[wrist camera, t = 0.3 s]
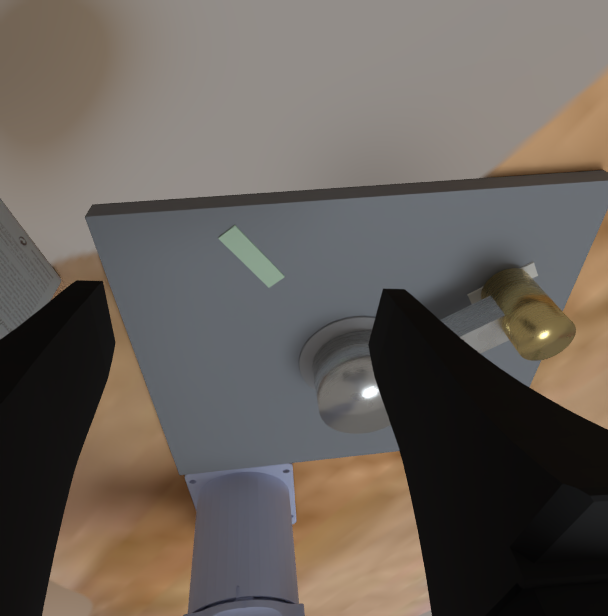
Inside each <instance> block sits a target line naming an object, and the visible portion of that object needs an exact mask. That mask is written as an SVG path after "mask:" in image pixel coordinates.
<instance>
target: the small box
mask: <svg viewBox="0 0 608 616" xmlns="http://www.w3.org/2000/svg"><path fill="white" fill-rule="evenodd" d="M60 283H61V278H60V277H59V275H58V274H57V273H56V271H55V270H54V269H53V267H52V266H51V265H50V264H49V262H48V261H47V260H46V258H45V257H44V256H43V254H42V253H41V252H40V250H39V249H38V248H37V247H36V245H35V244H34V242H33V241H32V240H31V239H30V237H29V236H28V235H27V233H26V232H25V230H24V229H23V228H22V227H21V225H20V224H19V223H18V221H17V220H16V219H15V217H14V216H13V215H12V213H11V212H10V211H9V209H8V208H7V207H6V205H5V204H4V203H3V201H2V200H1V199H0V339H2V338H3V337H4V336H6V335H7V334H9V333H10V332H11V331H13V330H14V329H16V328H17V327H18V326H19V325H21V324H22V323H23V322H25V321H26V320H27V319H28V318H30V317H31V316H32V315H33V314H35V313H36V312H37V311H39V310H40V309H41V308H42V307H44V306H45V305H46V304H47V303H49V302H50V300H51V298H52V297H53V295H54V293H55V291H56V290H57V288H58V286H59V285H60Z"/></svg>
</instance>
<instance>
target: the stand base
mask: <svg viewBox="0 0 608 616" xmlns="http://www.w3.org/2000/svg"><path fill="white" fill-rule="evenodd" d="M607 209H608V172H606V171H604V170H597V171H582V172H568V173H553V174H538V175H523V176H509V177H494V178H479V179H464V180H451V181H435V182H420V183H405V184H390V185H376V186H361V187H347V188H331V189H316V190H303V191H287V192H273V193H257V194H243V195H228V196H213V197H198V198H185V199H169V200H154V201H139V202H124V203H110V204H95V205H92V206H91V208H90V209H89V211H88V213H87V214H86V216H85V219H86V221H87V224H88V227H89V229H90V232H91V235H92V238H93V240H94V243H95V246H96V249H97V251H98V254H99V257H100V260H101V262H102V265H103V268H104V271H105V273H106V276H107V279H108V281H109V284H110V287H111V290H112V292H113V295H114V298H115V301H116V303H117V306H118V309H119V311H120V314H121V317H122V320H123V322H124V325H125V328H126V330H127V333H128V336H129V339H130V341H131V344H132V347H133V350H134V352H135V355H136V358H137V360H138V363H139V366H140V369H141V371H142V374H143V377H144V380H145V382H146V385H147V388H148V390H149V393H150V396H151V399H152V401H153V404H154V407H155V410H156V412H157V415H158V418H159V420H160V423H161V426H162V429H163V431H164V434H165V437H166V439H167V442H168V445H169V448H170V450H171V453H172V456H173V459H174V461H175V464H176V467H177V469H178V472H179V475H187V474H196V473H205V472H214V471H223V470H232V469H241V468H250V467H259V466H268V465H277V464H286V463H295V462H304V461H313V460H322V459H331V458H340V457H349V456H358V455H367V454H376V453H385V452H394V451H400V450H399V447H398V444H397V441H396V438H395V435H394V432H393V430H392V427H391V425H390V426H388V427H386V428H383V429H381V430H377V431H374V432H369V433H362V434H350V433H344V432H340V431H337V430H334V429H332V428H331V427H329V426H328V425H326V424H325V423H324V421H323V420H322V418H321V416H320V413H319V407H318V401H317V396H316V390H315V384H314V378H313V372H312V363H313V359H314V357H315V355H316V353H317V352H318V350H319V349H320V348H321V347H322V346H323V345H324V344H325V343H327V342H328V341H329V340H331V339H333V338H334V337H337V336H339V335H341V334H344V333H348V332H353V331H372V328H373V324H374V321H375V317H376V313H377V309H378V306H379V302H380V298H381V294H382V290H383V289H405V290H406V291H408V292H409V293H410V294H411V295H412V296H414V297H415V298H416V299H417V300H418V301H419V302H420V303H421V304H423V305H424V306H425V307H426V308H427V309H428V310H429V311H430V312H432V313H433V314H434V315H435V316H436V317H437V318H438V319H439V320H442V319H444V318H446V317H448V316H450V315H452V314H454V313H456V312H458V311H460V310H462V309H464V308H466V307H468V306H470V305H472V304H474V303H476V302H478V301H480V300H482V299H481V291H482V288H483V286H484V285H485V283H486V282H487V281H488V280H489V279H490V278H491V277H492V276H493V275H495V274H496V273H498V272H500V271H503V270H505V269H510V268H519V269H522V270H524V271H526V272H527V273H528V274H529V275H530V276H531V278H532V279H533V280H534V281H535V282H536V283H537V284H538V285H539V286H540V287H541V288H542V290H543V291H544V292H545V293H546V294H547V295H548V296H549V297H550V298H551V299H552V300H553V302H554V303H555V304H556V305H557V306H558V307H559V308H560V309H561V310H562V311H563V309H564V307H565V305H566V302H567V300H568V298H569V295H570V293H571V291H572V289H573V286H574V284H575V282H576V280H577V277H578V275H579V273H580V270H581V268H582V266H583V264H584V261H585V259H586V257H587V255H588V252H589V250H590V248H591V245H592V243H593V241H594V239H595V236H596V234H597V232H598V229H599V227H600V225H601V223H602V220H603V218H604V216H605V214H606V211H607ZM481 354H482V355H483V356H484V357H485V358H487V359H488V360H489V361H491V362H492V363H493V364H495V365H496V366H498V367H499V368H500V369H502V370H503V371H505V372H506V373H508V374H509V375H511V376H512V377H514V378H515V379H517V380H518V381H520V382H521V383H523V384H524V385H526V386H528V387H530V384H531V382H532V380H533V377H534V375H535V373H536V371H537V368H538V366H539V364H540V362H541V360H538V361H531V360H527V359H524V358H523V357H521V356H520V354H519V353H518V351H517V350H516V349H515V347H514V346H513V344H512V343H511V342H510V340H509V341H506V342H504V343H502V344H500V345H498V346H496V347H493V348H491V349H489V350H487V351H485V352H483V353H481Z"/></svg>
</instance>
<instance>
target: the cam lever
mask: <svg viewBox="0 0 608 616" xmlns="http://www.w3.org/2000/svg"><path fill="white" fill-rule="evenodd" d="M481 299H482V300H480V301H478V302H476V303H474V304H472V305H470V306H468V307H466V308H464V309H462V310H460V311H458V312H456V313H454V314H452V315H450V316H448V317H446V318H444V319H442V320H440V321H442V322H443V323H444V324H445V325H446V326H447V327H448V328H450V329H451V330H452V331H453V332H454V333H455V334H457V335H458V336H459V337H460V338H461V339H463V340H464V341H465V342H466V343H467V344H469V345H470V346H471V347H472V348H474V349H475V350H476V351H478V352H479V353H480V354H481V353H483V352H485V351H487V350H489V349H491V348H493V347H496V346H498V345H500V344H502V343H504V342H506V341H509V340H510V342H511V343H512V344H513V346H514V347H515V349H516V350H517V351H518V353H519V354H520V356H521V357H523V358H524V359H527V360H531V361H538V360H544V359H547V358H550V357H552V356H555V355H556V354H558V353H560V352H561V351H563V350H564V349H565V348H566V347H567V346H568V345H569V344H570V343H571V342H572V340H573V338H574V336H575V333H576V328H575V325H574V324H573V322H572V321H571V320H570V319H569V318H568V317H567V316H566V315H565V314H564V312H563V311H562V310H561V309H560V308H559V307H558V306H557V305H556V304H555V303H554V302H553V300H552V299H551V298H550V297H549V296H548V295H547V294H546V293H545V292H544V291H543V290H542V288H541V287H540V286H539V285H538V284H537V283H536V282H535V281H534V280H533V279H532V278H531V276H530V275H529V274H528V273H527V272H526V271H524V270H522V269H519V268H510V269H505V270H503V271H500V272H498V273H496V274H495V275H493V276H492V277H491V278H490V279H489V280H488V281H487V282H486V283H485V285H484V286H483V288H482V291H481ZM371 332H372V331H353V332H348V333H344V334H341V335H339V336H337V337H334V338H333V339H331V340H329V341H328V342H327V343H325V344H324V345H323V346H322V347H321V348H320V349H319V350H318V352H317V353H316V355H315V357H314V359H313V363H312V372H313V378H314V384H315V390H316V396H317V401H318V407H319V413H320V416H321V418H322V420H323V421H324V423H325V424H326V425H328V426H329V427H331V428H332V429H334V430H337V431H340V432H344V433H350V434H362V433H369V432H374V431H377V430H381V429H383V428H386V427H388V426H390V425H391V424H390V421H389V418H388V415H387V412H386V409H385V407H384V404H383V401H382V398H381V395H380V392H379V389H378V386H377V383H376V380H375V377H374V372H373V368H372V363H371V357H370V352H369V346H368V343H369V340H370V336H371Z"/></svg>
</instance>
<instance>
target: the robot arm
mask: <svg viewBox="0 0 608 616" xmlns="http://www.w3.org/2000/svg"><path fill="white" fill-rule="evenodd" d="M368 346H369V352H370V357H371V363H372V368H373V372H374V377H375V380H376V383H377V386H378V389H379V392H380V395H381V398H382V401H383V404H384V407H385V409H386V412H387V415H388V418H389V421H390V424H391V427H392V430H393V432H394V435H395V438H396V441H397V444H398V447H399V450H400V454H401V457H402V460H403V465H404V469H405V473H406V478H407V482H408V486H409V491H410V495H411V500H412V504H413V509H414V514H415V519H416V524H417V529H418V534H419V539H420V545H421V550H422V556H423V562H424V567H425V573H426V579H427V586H428V592H429V599H430V605H431V612H432V616H608V430H607V429H605V428H603V427H601V426H599V425H597V424H595V423H593V422H591V421H589V420H587V419H585V418H583V417H581V416H579V415H577V414H575V413H573V412H571V411H569V410H567V409H565V408H564V407H562V406H560V405H558V404H557V403H555V402H553V401H551V400H550V399H548V398H546V397H544V396H543V395H541V394H539V393H537V392H536V391H534V390H533V389H531V388H529V387H528V386H526V385H524V384H523V383H521V382H520V381H518V380H517V379H515V378H514V377H512V376H511V375H509V374H508V373H506V372H505V371H503V370H502V369H500V368H499V367H498V366H496V365H495V364H493V363H492V362H491V361H489V360H488V359H487V358H485V357H484V356H483V355H482V354H480V353H479V352H478V351H476V350H475V349H474V348H472V347H471V346H470V345H469V344H467V343H466V342H465V341H464V340H463V339H461V338H460V337H459V336H458V335H457V334H455V333H454V332H453V331H452V330H451V329H450V328H448V327H447V326H446V325H445V324H444V323H443V322H442V321H440V320H439V319H438V318H437V317H436V316H435V315H434V314H433V313H432V312H430V311H429V310H428V309H427V308H426V307H425V306H424V305H423V304H421V303H420V302H419V301H418V300H417V299H416V298H415V297H414V296H412V295H411V294H410V293H409V292H408V291H406V290H405V289H383V290H382V294H381V298H380V302H379V306H378V309H377V313H376V317H375V321H374V324H373V328H372V332H371V336H370V340H369V343H368ZM114 348H115V338H114V333H113V329H112V324H111V319H110V314H109V309H108V304H107V299H106V295H105V290H104V285H103V281H78V280H77V281H75V282H74V283H72V284H71V285H70V286H68V287H67V288H66V289H65V290H63V291H62V292H61V293H60V294H58V295H57V296H56V297H55V298H54V299H52V300H51V301H50V302H49V303H47V304H46V305H45V306H44V307H42V308H41V309H40V310H39V311H37V312H36V313H35V314H33V315H32V316H31V317H30V318H28V319H27V320H26V321H25V322H23V323H22V324H21V325H19V326H18V327H17V328H16V329H14V330H13V331H11V332H10V333H9V334H7V335H6V336H4V337H3V338H2V339H0V616H42V612H43V606H44V601H45V597H46V592H47V587H48V582H49V577H50V572H51V567H52V563H53V558H54V553H55V549H56V544H57V540H58V536H59V531H60V527H61V523H62V518H63V514H64V510H65V506H66V502H67V498H68V494H69V490H70V486H71V482H72V478H73V474H74V471H75V468H76V465H77V461H78V458H79V455H80V452H81V450H82V447H83V444H84V442H85V439H86V436H87V434H88V431H89V428H90V426H91V423H92V420H93V418H94V415H95V412H96V410H97V407H98V404H99V401H100V399H101V396H102V393H103V390H104V388H105V385H106V382H107V379H108V376H109V371H110V367H111V363H112V358H113V353H114ZM185 481H186V483H187V486H188V489H189V492H190V495H191V497H192V500H193V503H194V506H195V509H196V511H197V512H196V523H195V535H194V547H193V558H192V570H191V582H190V593H189V605H188V614H184V615H183V616H305V614H304V604H299V598H298V586H297V575H296V563H295V552H294V540H293V529H292V524H294V523H296V508H295V494H294V480H293V467H292V463H286V464H277V465H268V466H259V467H250V468H241V469H232V470H223V471H214V472H205V473H196V474H187V475H185Z"/></svg>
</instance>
